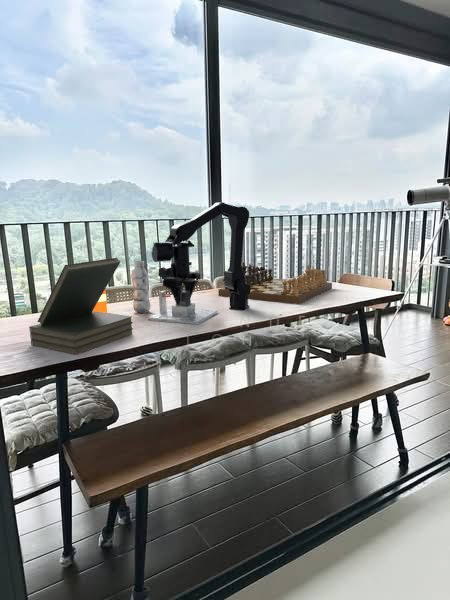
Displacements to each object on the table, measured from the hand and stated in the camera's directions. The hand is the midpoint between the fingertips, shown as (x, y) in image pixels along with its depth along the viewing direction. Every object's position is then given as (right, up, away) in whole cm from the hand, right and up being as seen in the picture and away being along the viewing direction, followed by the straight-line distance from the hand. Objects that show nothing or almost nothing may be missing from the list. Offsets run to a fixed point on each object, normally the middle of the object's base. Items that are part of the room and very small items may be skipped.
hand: (183, 301), depth 155 cm
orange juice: (-35, -6, +5) cm, 36 cm away
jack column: (0, -4, +1) cm, 4 cm away
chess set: (+40, +4, +44) cm, 60 cm away
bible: (-28, -12, -25) cm, 40 cm away
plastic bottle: (-17, -4, +9) cm, 20 cm away
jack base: (0, -5, +1) cm, 6 cm away
